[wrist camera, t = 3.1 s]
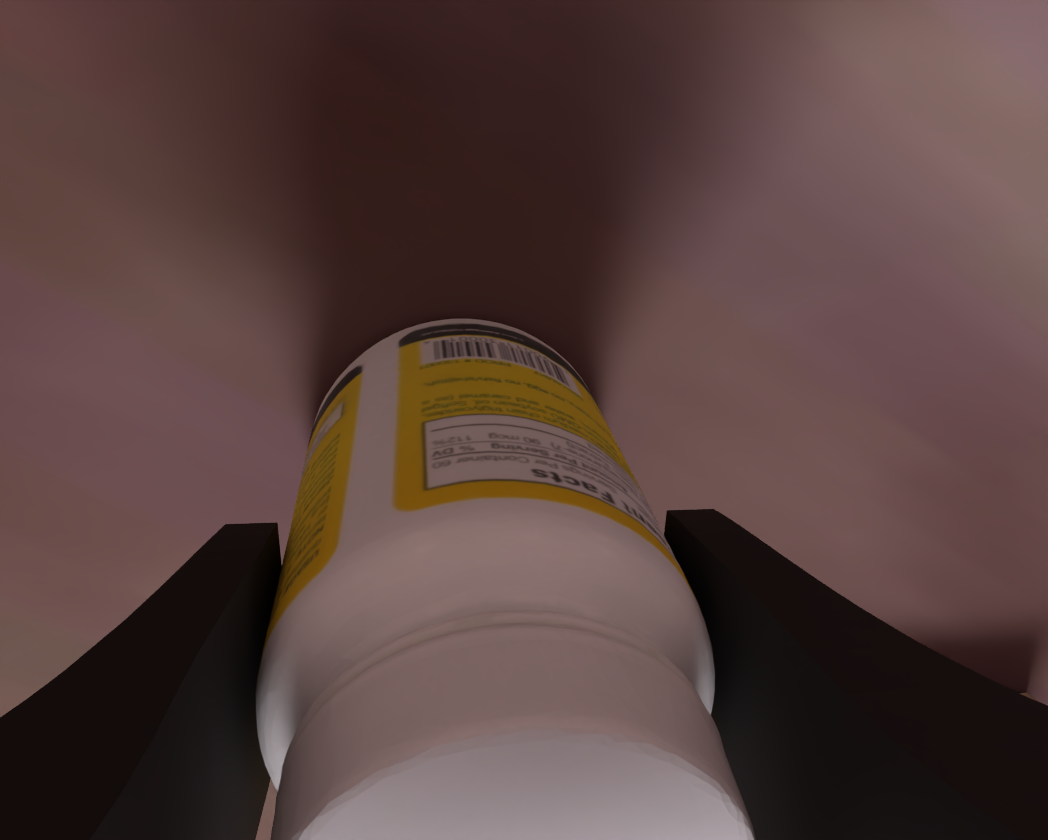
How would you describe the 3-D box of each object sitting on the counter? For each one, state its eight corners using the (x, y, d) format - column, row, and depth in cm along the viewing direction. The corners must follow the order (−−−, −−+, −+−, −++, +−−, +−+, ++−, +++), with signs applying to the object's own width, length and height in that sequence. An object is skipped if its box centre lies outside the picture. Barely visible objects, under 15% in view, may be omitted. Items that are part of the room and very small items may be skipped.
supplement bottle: (405, 612, 16) (400, 1170, 8) (252, 401, 14) (53, 877, 6) (646, 491, 15) (881, 964, 8) (524, 256, 13) (676, 575, 6)
